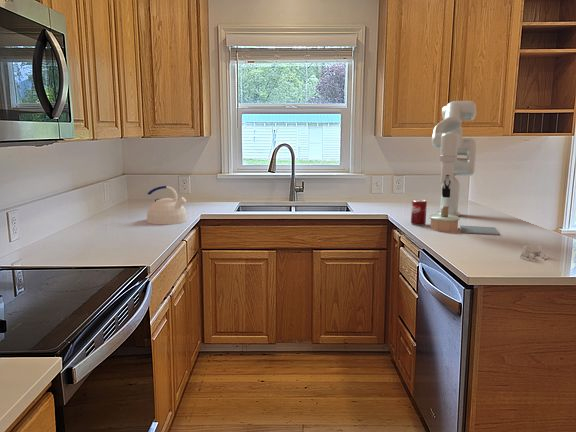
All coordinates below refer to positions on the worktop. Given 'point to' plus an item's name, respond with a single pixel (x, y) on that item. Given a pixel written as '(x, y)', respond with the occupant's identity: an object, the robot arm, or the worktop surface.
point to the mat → (479, 230)
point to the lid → (444, 215)
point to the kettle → (167, 209)
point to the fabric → (532, 252)
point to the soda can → (418, 212)
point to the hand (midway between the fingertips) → (445, 196)
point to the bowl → (444, 225)
